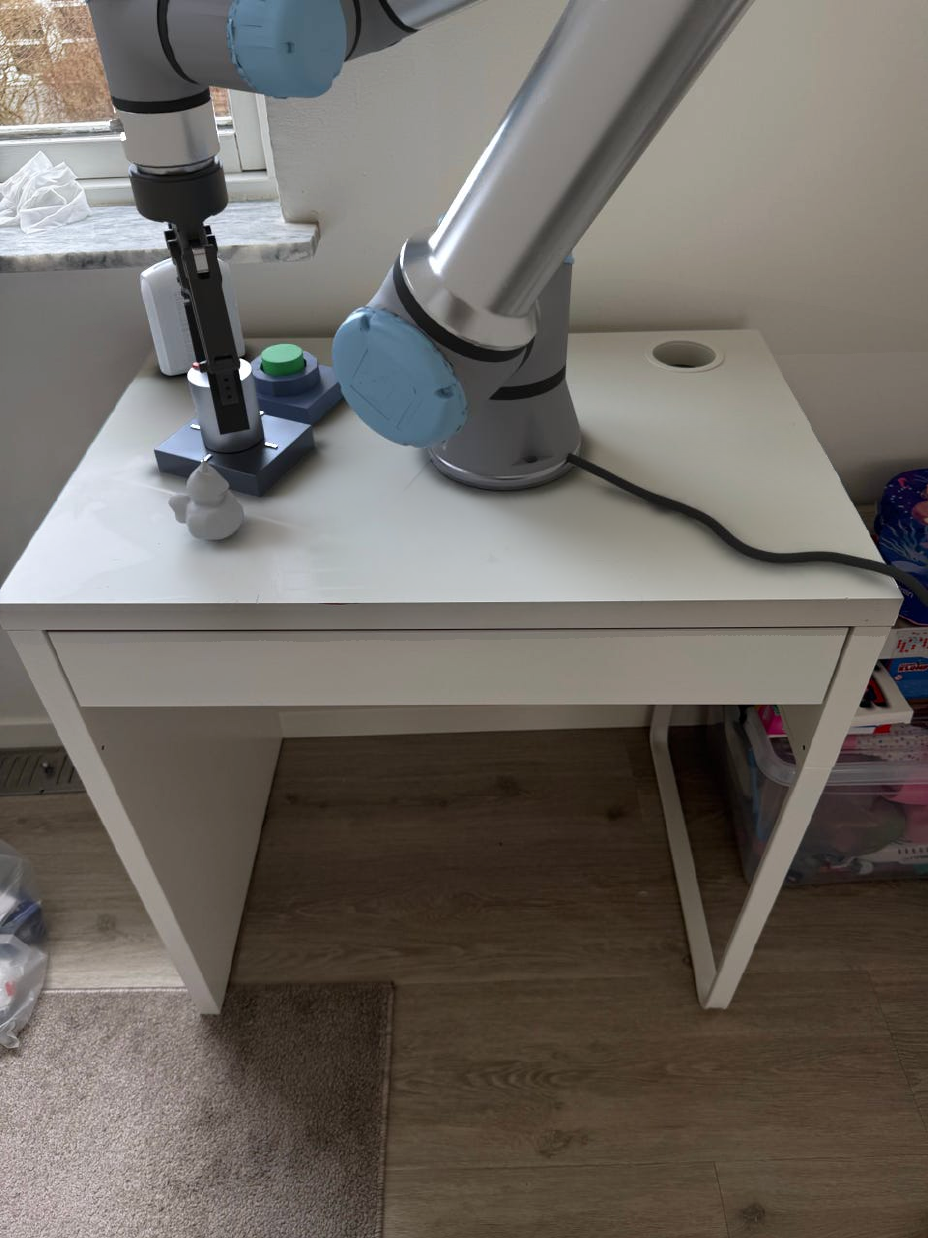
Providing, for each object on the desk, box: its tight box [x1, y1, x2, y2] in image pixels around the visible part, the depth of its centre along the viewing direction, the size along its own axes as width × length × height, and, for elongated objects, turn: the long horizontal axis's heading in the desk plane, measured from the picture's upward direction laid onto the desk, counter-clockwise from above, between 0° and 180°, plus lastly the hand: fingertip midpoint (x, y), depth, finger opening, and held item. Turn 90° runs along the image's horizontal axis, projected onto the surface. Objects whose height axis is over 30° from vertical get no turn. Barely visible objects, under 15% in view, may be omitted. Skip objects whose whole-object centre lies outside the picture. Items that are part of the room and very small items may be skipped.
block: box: [249, 350, 345, 426], centre depth 103 cm, size 11×9×4 cm
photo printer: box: [139, 257, 246, 377], centre depth 107 cm, size 10×4×12 cm, turn 123°
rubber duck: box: [167, 458, 245, 541], centre depth 83 cm, size 5×7×8 cm
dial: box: [186, 358, 264, 453], centre depth 91 cm, size 6×6×7 cm
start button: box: [260, 343, 304, 376], centre depth 101 cm, size 4×4×2 cm
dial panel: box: [153, 411, 315, 498], centre depth 94 cm, size 12×10×3 cm
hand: (222, 395), depth 91 cm, fingers open, 13 cm apart
